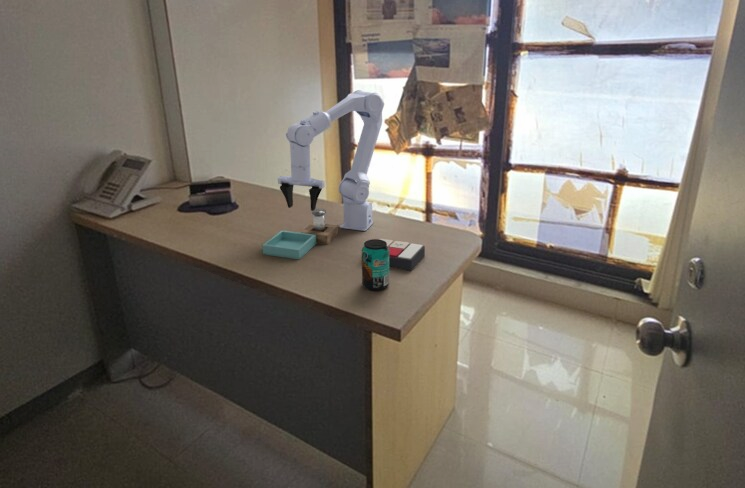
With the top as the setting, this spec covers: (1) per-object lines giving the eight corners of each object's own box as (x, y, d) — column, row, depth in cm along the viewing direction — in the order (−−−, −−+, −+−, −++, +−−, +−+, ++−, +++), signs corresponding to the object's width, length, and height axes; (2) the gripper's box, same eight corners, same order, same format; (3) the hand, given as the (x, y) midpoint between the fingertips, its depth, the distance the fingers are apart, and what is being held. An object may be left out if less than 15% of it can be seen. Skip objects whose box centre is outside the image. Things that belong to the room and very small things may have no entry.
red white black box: (378, 237, 148) (425, 243, 142) (379, 249, 150) (425, 256, 143) (362, 250, 139) (411, 257, 133) (363, 264, 141) (411, 272, 134)
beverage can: (361, 279, 130) (361, 238, 125) (387, 278, 130) (388, 237, 125) (362, 292, 124) (362, 249, 119) (390, 291, 124) (390, 249, 119)
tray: (316, 243, 152) (316, 234, 151) (299, 259, 141) (298, 250, 140) (282, 238, 155) (281, 230, 154) (263, 254, 145) (262, 244, 144)
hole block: (338, 233, 159) (338, 225, 158) (327, 244, 151) (327, 235, 150) (313, 230, 162) (312, 222, 160) (301, 240, 154) (300, 232, 153)
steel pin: (329, 235, 158) (327, 209, 154) (323, 240, 154) (322, 214, 150) (316, 234, 159) (315, 208, 155) (311, 239, 155) (309, 212, 152)
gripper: (272, 165, 144) (274, 209, 149) (318, 170, 140) (318, 214, 145) (282, 160, 150) (284, 202, 155) (326, 165, 146) (327, 207, 152)
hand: (301, 208), depth 151 cm, fingers open, 7 cm apart
